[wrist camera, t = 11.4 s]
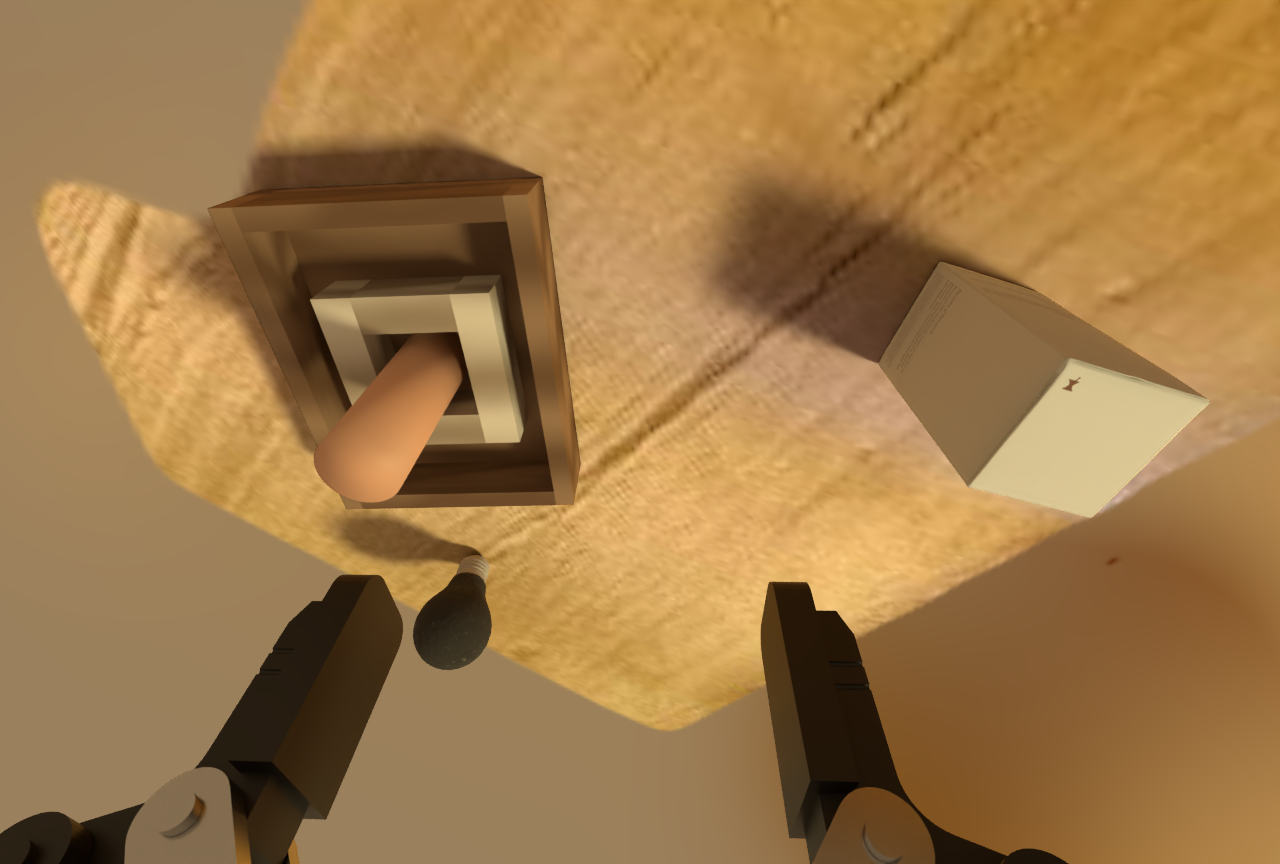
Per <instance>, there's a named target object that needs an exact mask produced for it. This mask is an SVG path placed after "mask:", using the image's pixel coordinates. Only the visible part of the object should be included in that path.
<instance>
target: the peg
mask: <svg viewBox="0 0 1280 864" xmlns="http://www.w3.org/2000/svg"><path fill="white" fill-rule="evenodd" d="M467 372H468V369H467V365H466V361H465V357H464V353H463V349H462V345H461V341H460V337H459V335H458V334H457V333H456V332H435V333H413V334H412V336H411V337H410V338H409V339H408V340H407V341H406V343H405V344H404V345H403V346H402V347H401V349H400V350H399V351H398V352H397V353H396V354H395V356H394V357H393V358H392V359H391V360H390V362H389V363H388V364H387V365H386V366H385V367H384V369H383V370H382V371H381V372H380V373H379V375H378V376H377V377H376V378H375V379H374V380H373V382H372V383H371V384H370V385H369V386H368V388H367V389H366V390H365V391H364V392H363V393H362V395H361V396H360V397H359V398H358V399H357V401H356V402H355V403H354V404H353V405H352V407H351V408H350V409H349V410H348V411H347V412H346V414H345V415H344V416H343V417H342V418H341V420H340V421H339V422H338V423H337V424H336V425H335V427H334V428H333V429H332V430H331V431H330V433H329V434H328V435H327V436H326V437H325V438H324V440H323V441H322V442H321V443H320V444H319V446H318V447H317V449H316V450H315V453H314V464H315V468H316V470H317V473H318V474H319V476H320V477H321V479H322V480H323V481H324V482H325V483H326V484H327V485H328V486H329V487H330V488H331V489H333V490H334V491H336V492H337V493H339V494H341V495H343V496H345V497H347V498H350V499H353V500H356V501H360V502H371V503H373V502H381V501H385V500H388V499H390V498H392V497H393V496H395V495H396V494H397V493H398V491H399V490H400V488H401V487H402V485H403V483H404V481H405V480H406V478H407V476H408V474H409V473H410V471H411V469H412V467H413V466H414V464H415V462H416V460H417V459H418V457H419V455H420V454H421V452H422V450H423V448H424V447H425V445H426V443H427V441H428V440H429V438H430V436H431V434H432V433H433V431H434V429H435V427H436V426H437V424H438V422H439V421H440V419H441V417H442V415H443V414H444V412H445V410H446V408H447V407H448V405H449V403H450V401H451V400H452V398H453V396H454V394H455V393H456V391H457V389H458V387H459V386H460V384H461V382H462V381H463V379H464V377H465V375H466V374H467Z"/></svg>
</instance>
